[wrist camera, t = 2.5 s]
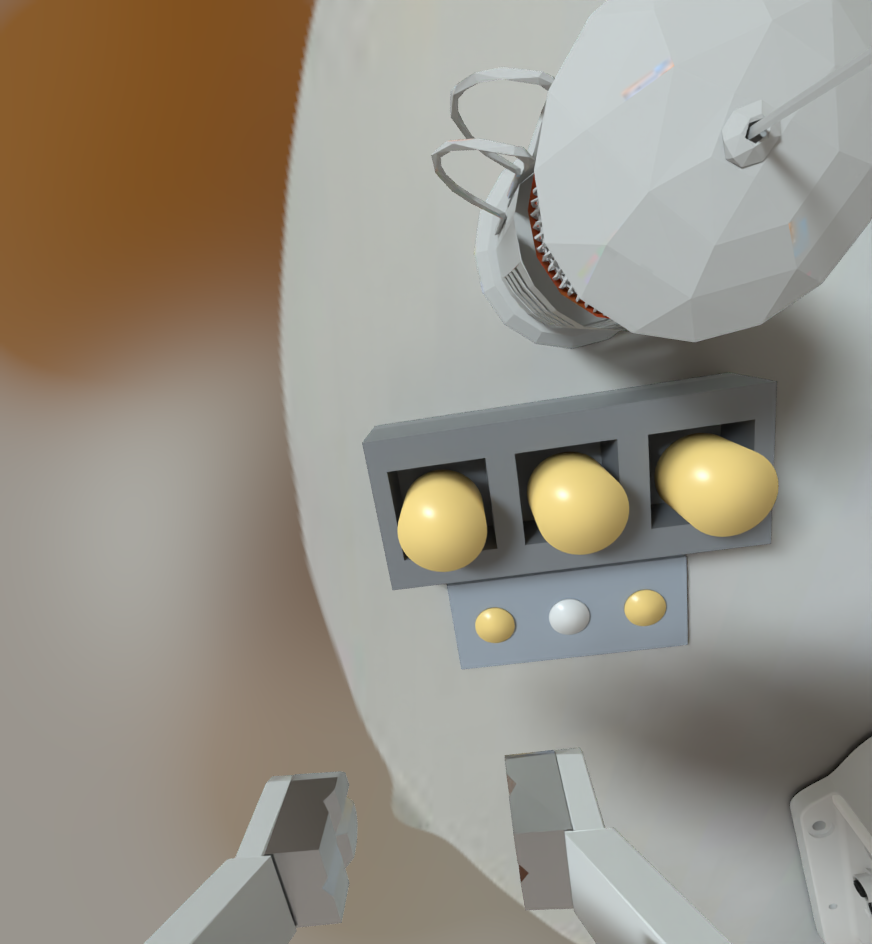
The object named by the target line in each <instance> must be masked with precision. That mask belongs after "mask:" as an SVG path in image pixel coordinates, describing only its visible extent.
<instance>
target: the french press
mask: <svg viewBox="0 0 872 944" xmlns="http://www.w3.org/2000/svg"><path fill="white" fill-rule="evenodd" d="M501 79H504V80H511V81H517V82H524V83H530V84H537V85H540V86H542V87H543V88H545V89H546V90H548V94H547V100H546V102H545V105H544V107H543V109H542V112H541V115H540V118H539V120H538V123H537V126H536V129H535V131H534V134H533V137H532V140H531V143H530V145H529V148H528V151H527V150H526V149H525V148H524V147H520V146H515V145H510V144H505V143H500V142H495V141H490V140H485V139H480V138H474V137H473V136H472V135H471V133H470V132H469V130H468V129H467V127H466V126H465V124H464V122H463V120H462V118H461V116H460V114H459V112H458V98H459V97H460V96H461V95H462V94H463V93H464V91H465V90H466V89H468V88H470V87H472V86H474V85H476V84H477V83H479V82H487V81H494V80H501ZM450 113H451V118H452V119H453V121H454V122H455V124H456V125H457V126H458V128H459V129H460V131H461V132H462V133H463V135H464V136H465V137H466V139H462V140H450V141H446V142H445V143H444V144H443V145H441V146H440V147H439V148H438V149H437V150H436V151H435V152H434V153H433V154H432V155H431V156H432V160H433V164H434V169H435V173H436V174H437V175H438V176H439V177H440V179H441V180H442V181H443V182H444V183H445V184H446V185H447V186H448V187H449V188H450V189H451V190H452V191H453V192H454V193H456V194H457V195H459V196H460V197H462V198H463V199H465V200H466V201H468V202H470V203H471V204H473V205H475V206H477V207H479V208H481V211H480V216H479V223H478V229H477V236H476V243H475V250H474V256H475V260H476V265H477V270H478V274H479V279H480V283H481V288H482V292H483V294H484V296H485V297H486V298H487V300H488V301H489V303H490V304H491V306H492V307H493V309H494V310H495V311H496V313H497V314H498V316H499V317H500V319H501V320H502V322H503V323H504V324H505V325H506V326H508V327H510V328H511V329H513V330H514V331H516V332H518V333H519V334H521V335H523V336H524V337H526V338H527V339H529V340H531V341H532V342H534V343H536V344H543V345H549V346H556V347H563V348H570V349H572V348H576V347H580V346H584V345H588V344H591V343H595V342H599V341H603V340H607V339H609V338H611V337H612V336H613V335H615V334H616V333H617V332H619V331H620V330H621V331H627V330H629V331H630V332H632V333H636V334H643V335H649V336H656V337H663V338H669V339H676V340H683V341H689V342H698V341H702V340H705V339H709V338H713V337H717V336H720V335H724V334H728V333H732V332H735V331H739V330H743V329H747V328H751V327H754V326H758V325H761V324H763V323H764V322H766V321H767V320H769V319H770V318H772V317H773V316H775V315H776V314H778V313H779V312H781V311H782V310H784V309H785V308H787V307H788V306H790V305H791V304H793V303H794V302H796V301H797V300H798V299H800V298H801V297H803V296H804V295H806V294H807V293H809V292H810V291H812V290H813V289H815V288H816V287H818V286H819V285H821V284H822V283H823V282H824V280H825V279H826V278H827V277H828V275H829V274H830V273H831V271H832V270H833V269H834V268H835V266H836V265H837V264H838V262H839V261H840V260H841V259H842V257H843V256H844V255H845V253H846V252H847V251H848V250H849V248H850V247H851V246H852V244H853V243H854V242H855V241H856V239H857V238H858V237H859V235H860V234H861V233H862V232H863V230H864V229H865V228H866V226H867V225H868V224H869V223H870V221H871V219H872V0H607V1H606V2H604V3H603V4H602V5H601V6H600V7H599V8H598V9H597V10H595V11H594V12H593V13H592V14H591V15H590V16H589V18H588V20H587V22H586V23H585V25H584V27H583V29H582V31H581V32H580V34H579V36H578V38H577V40H576V41H575V43H574V45H573V47H572V49H571V50H570V52H569V54H568V56H567V58H566V59H565V61H564V63H563V65H562V67H561V68H560V70H559V72H558V74H557V76H556V78H554V77H553V76H551V75H549V74H547V73H544V72H542V71H533V70H524V69H515V68H507V67H500V68H495V69H490V70H486V71H481V72H476V73H473V74H472V75H470V76H468V77H467V78H465V79H464V80H462V81H461V82H459V83H458V84H457V85H456V86H455V87H454V88H453V89H452V90H451V96H450ZM461 150H479V151H480V152H482V153H483V154H484V155H485V156H487V157H489V158H490V159H492V160H493V161H495V162H497V163H498V164H500V165H502V166H503V167H505V168H506V169H505V170H504V171H503V172H502V173H501V174H500V176H499V178H498V180H497V182H496V183H495V185H494V187H493V189H492V191H491V192H490V194H489V196H488V198H487V200H486V202H484V201H483V200H481V199H479V198H477V197H475V196H474V195H472V194H471V193H469V192H468V191H466V190H464V189H463V188H461V187H460V186H458V185H457V184H456V183H455V182H454V181H453V180H451V179H450V178H449V177H448V176H447V175H446V173H445V172H444V170H443V168H442V166H441V158H440V157H442V156H444V155H445V154H447V153H449V152H450V151H461ZM497 153H499V154H505V155H510V156H515V157H517V158H518V159H517V160H516V161H515V162H513V163H511V162H510V161H508V160H506V159H505V158H503V157H502V156H500V155H498V154H497Z"/></svg>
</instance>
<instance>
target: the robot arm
mask: <svg viewBox="0 0 872 944" xmlns="http://www.w3.org/2000/svg"><path fill="white" fill-rule="evenodd" d="M505 765H506V775H507V782H508V789H509V801H510V809H511V818H512V826H513V834H514V841H515V848H516V855H517V862H518V864H519V873H520V881H521V887H522V893H523V899H524V905H525V910H544V909H572V908H574V912H575V914H576V915H577V917H578V918H579V919H580V921H581V922H582V924H583V925H584V927H585V928H586V929H587V931H588V932H589V934H590V935H591V937H592V938H593V939H594V941H595V942H596V944H732V943H731V942H730V941H729V940H728V939H727V938H726V937H725V936H724V935H723V934H722V933H721V932H720V931H719V930H717V929H716V928H715V927H714V926H713V925H712V924H711V923H710V922H709V921H708V920H707V919H706V918H705V917H704V916H703V915H702V914H701V913H700V912H699V911H698V910H697V909H696V908H695V907H694V906H693V905H692V904H691V903H690V902H689V901H688V900H687V899H686V898H685V897H684V896H683V895H682V894H681V893H680V892H679V891H678V890H677V889H676V888H675V887H674V886H673V885H672V884H671V883H670V882H669V881H668V880H667V879H666V878H664V877H663V876H662V875H661V874H660V873H659V872H658V871H657V870H656V869H655V868H654V867H653V866H652V865H651V864H650V863H649V862H648V861H647V860H646V859H645V858H644V857H643V856H642V855H641V854H640V853H639V852H638V851H637V850H636V849H635V848H634V847H633V846H632V845H631V844H630V843H629V842H628V841H627V840H626V839H625V838H624V837H623V836H622V835H621V834H620V833H619V832H618V831H617V830H616V829H615V828H605V825H604V822H603V818H602V815H601V812H600V808H599V805H598V802H597V798H596V795H595V792H594V788H593V785H592V782H591V778H590V775H589V772H588V768H587V765H586V762H585V758H584V755H583V752H582V750H581V749H580V748H570V749H561V750H555V751H554V750H549V751H540V752H531V753H521V754H512V755H505ZM348 788H349V783H348V780H347V777H346V773H345V772H326V773H312V774H295V775H287V776H273V777H271V778H270V780H269V781H268V782H267V783H266V785H265V787H264V790H263V792H262V794H261V797H260V799H259V802H258V804H257V806H256V809H255V811H254V814H253V816H252V819H251V821H250V823H249V826H248V828H247V831H246V833H245V835H244V838H243V840H242V843H241V845H240V848H239V850H238V852H237V855H236V857H235V858H233V859H227V860H226V861H225V862H224V863H223V864H222V865H221V866H220V867H219V868H218V870H217V871H215V872H214V873H213V874H212V875H211V876H210V877H209V878H208V879H207V880H206V881H205V882H204V883H203V884H202V885H201V887H200V888H198V889H197V890H196V891H195V892H194V893H193V894H192V895H191V896H190V897H189V899H188V900H186V901H185V902H184V903H183V904H182V906H180V907H179V909H177V910H176V912H175V913H174V914H173V915H172V916H171V917H170V918H169V919H168V920H167V921H166V922H165V923H164V924H163V925H162V926H161V927H160V928H159V929H158V930H157V931H156V932H155V933H154V934H153V935H152V936H151V937H150V938H149V939H148V940H147V941H146V942H145V943H144V944H288V943H289V942H290V940H291V939H292V937H293V936H294V934H295V933H296V928H297V927H307V926H316V925H326V924H335V923H342V917H343V912H344V907H345V902H346V897H347V891H348V887H349V880H348V877H347V873H346V870H345V868H346V867H347V866H348V865H349V863H350V862H351V861H352V859H353V858H354V855H355V848H356V843H357V816H356V809H355V805H354V802H353V801H352V800H351V799H350V798H348V797H347V792H348ZM790 809H791V814H792V819H793V823H794V828H795V833H796V837H797V842H798V847H799V851H800V856H801V860H802V865H803V870H804V874H805V879H806V884H807V888H808V893H809V897H810V902H811V907H812V911H813V916H814V921H815V925H816V929H817V932H818V934H819V936H820V937H821V939H822V940H823V942H824V943H825V944H872V737H870V738H869V739H868V740H866V741H865V742H864V743H862V744H861V745H860V746H859V747H857V748H856V749H855V750H854V751H853V752H852V753H851V754H850V755H849V756H848V757H847V758H846V759H845V760H844V761H843V762H842V763H841V764H840V765H839V767H838V768H837V769H835V770H834V771H833V772H832V773H831V774H830V775H828V776H827V777H825V778H823V779H821V780H819V781H817V782H816V783H814V784H812V785H810V786H808V787H807V788H805V789H803V790H802V791H800V792H799V793H798V794H796V795H795V796H794V797H793V799H792V800H791V803H790Z"/></svg>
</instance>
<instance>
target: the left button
mask: <svg viewBox="0 0 872 944" xmlns="http://www.w3.org/2000/svg"><path fill="white" fill-rule="evenodd" d="M397 532H398V539H399V542H400V545H401V547H402V549H403V551H404V552H405V554H406V555H407V556H408V557H409V558H410V559H411V560H412V561H413V562H414V563H416V564H417V565H419V566H421V567H423V568H425V569H428V570H431V571H437V572H449V571H454V570H458V569H460V568H463V567H465V566H467V565H468V564H470V563H471V562H472V561H473V560H475V559H476V557H477V556H478V555H479V554H480V552H481V551H482V549H483V547H484V545H485V542H486V537H487V524H486V518H485V512H484V506H483V500H482V496H481V493H480V491H479V489H478V488H477V486H476V485H475V484H474V483H473V482H472V480H470V479H469V478H468V477H466V476H465V475H463V474H461V473H459V472H456V471H452V470H434V471H431V472H428V473H426V474H424V475H422V476H420V477H419V478H418V479H416V480H415V481H414V482H413V483H412V485H411V486H410V488H409V489H408V491H407V493H406V496H405V500H404V503H403V507H402V510H401V514H400V518H399V521H398V531H397Z"/></svg>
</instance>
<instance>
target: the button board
mask: <svg viewBox="0 0 872 944" xmlns="http://www.w3.org/2000/svg"><path fill="white" fill-rule="evenodd" d="M776 395H777V381H773V380H767V379H762V378H756V377H751V376H745V375H740V374H734V373H723V374H717V375H710V376H703V377H697V378H690V379H683V380H677V381H670V382H663V383H657V384H650V385H644V386H637V387H630V388H624V389H617V390H610V391H604V392H597V393H591V394H584V395H577V396H571V397H564V398H557V399H551V400H544V401H538V402H531V403H524V404H518V405H511V406H504V407H498V408H491V409H485V410H478V411H471V412H465V413H458V414H451V415H445V416H438V417H432V418H425V419H418V420H412V421H405V422H398V423H392V424H385V425H379V426H375V427H374V428H373V429H372V431H371V432H370V433H369V435H368V436H367V437H366V439H365V440H364V441H363V442H362V445H363V449H364V454H365V459H366V464H367V469H368V474H369V478H370V483H371V488H372V493H373V498H374V503H375V507H376V512H377V517H378V522H379V527H380V532H381V536H382V541H383V546H384V551H385V556H386V561H387V565H388V570H389V575H390V580H391V585H392V590H399V589H407V588H415V587H423V586H431V585H439V584H447V588H448V594H449V600H450V606H451V611H452V617H453V623H454V629H455V635H456V641H457V646H458V652H459V658H460V664H461V669H470V668H479V667H488V666H498V665H507V664H516V663H525V662H534V661H543V660H553V659H562V658H571V657H580V656H589V655H598V654H608V653H617V652H626V651H635V650H644V649H653V648H662V647H672V646H681V645H688V628H687V563H686V556H685V555H684V554H690V553H698V552H707V551H715V550H723V549H731V548H739V547H747V546H755V545H763V544H771V527H772V509H771V511H770V512H769V513H768V515H767V516H766V517H765V518H764V519H763V520H762V521H761V522H760V523H759V524H758V525H756V526H755V527H753V528H752V529H750V530H748V531H746V532H744V533H741V534H738V535H734V536H727V537H717V536H711V535H708V534H705V533H703V532H701V531H699V530H697V529H696V528H695V527H693V526H692V525H691V524H690V523H689V522H688V521H686V520H685V519H684V518H683V517H682V516H681V515H679V514H678V513H677V512H676V511H675V510H674V509H672V508H671V507H670V506H669V505H668V504H667V503H665V502H664V501H663V500H662V498H661V497H660V496H659V494H658V492H657V490H656V487H655V481H654V473H655V468H656V465H657V462H658V460H659V458H660V457H661V455H662V453H663V452H664V451H665V450H666V449H667V448H668V447H669V446H670V445H671V444H672V443H673V442H675V441H676V440H678V439H680V438H682V437H684V436H687V435H690V434H694V433H711V434H715V435H718V436H720V437H723V438H725V439H727V440H730V441H732V442H734V443H736V444H739V445H741V446H743V447H746V448H748V449H750V450H753V451H755V452H757V453H759V454H761V455H762V456H764V457H765V458H766V459H767V460H768V461H769V462H770V463H771V464H772V466H773V467H774V448H775V421H776ZM569 451H570V452H579V453H583V454H586V455H588V456H590V457H592V458H593V459H595V460H596V461H597V462H598V463H599V464H600V465H601V466H602V467H603V468H604V469H605V470H606V471H607V472H608V473H609V474H610V475H612V476H613V477H614V478H615V479H616V480H617V481H618V482H619V484H620V485H621V486H622V487H623V489H624V491H625V493H626V495H627V498H628V501H629V516H628V520H627V523H626V526H625V528H624V530H623V531H622V533H621V534H620V536H619V537H618V538H617V539H616V540H615V541H614V542H613V543H612V544H610V545H609V546H607V547H606V548H604V549H602V550H600V551H597V552H594V553H590V554H584V555H575V554H568V553H565V552H562V551H560V550H558V549H556V548H554V547H553V546H552V545H550V544H549V543H548V542H547V541H546V540H545V539H544V537H543V536H542V534H541V532H540V530H539V528H538V526H537V523H536V521H535V518H534V516H533V513H532V511H531V508H530V506H529V503H528V499H527V485H528V481H529V478H530V476H531V474H532V472H533V471H534V469H535V468H536V467H537V466H538V465H539V464H540V463H541V462H542V461H543V460H545V459H546V458H548V457H550V456H552V455H554V454H557V453H561V452H569ZM434 470H452V471H456V472H459V473H461V474H463V475H465V476H466V477H468V478H469V479H470V480H472V482H473V483H474V484H475V485H476V486H477V488H478V489H479V491H480V493H481V496H482V500H483V506H484V512H485V518H486V524H487V537H486V542H485V545H484V547H483V549H482V551H481V552H480V554H479V555H478V556H477V557H476V559H475V560H473V561H472V562H471V563H470V564H468V565H467V566H465V567H463V568H460V569H458V570H454V571H449V572H437V571H431V570H428V569H425V568H423V567H421V566H419V565H417V564H416V563H414V562H413V561H412V560H411V559H410V558H409V557H408V556H407V555H406V554H405V552H404V551H403V549H402V547H401V545H400V542H399V539H398V532H397V531H398V521H399V518H400V514H401V510H402V507H403V503H404V500H405V496H406V493H407V491H408V489H409V488H410V486H411V485H412V483H413V482H414V481H415V480H416V479H418V478H419V477H420V476H422V475H424V474H426V473H428V472H431V471H434Z"/></svg>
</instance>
